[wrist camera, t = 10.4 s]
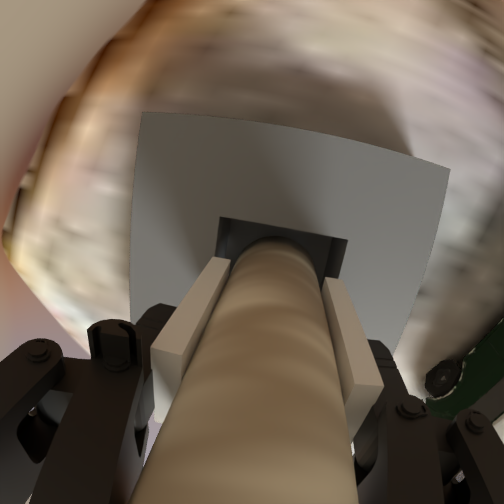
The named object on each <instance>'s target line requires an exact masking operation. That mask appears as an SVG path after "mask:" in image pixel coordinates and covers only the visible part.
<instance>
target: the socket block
mask: <svg viewBox="0 0 504 504" xmlns="http://www.w3.org/2000/svg"><path fill="white" fill-rule="evenodd" d="M449 174H450V169H448V168H446V167H443V166H440V165H437V164H434V163H431V162H428V161H425V160H422V159H419V158H416V157H413V156H409V155H406V154H403V153H399V152H396V151H393V150H389V149H386V148H382V147H378V146H375V145H371V144H367V143H363V142H359V141H355V140H351V139H347V138H342V137H338V136H333V135H329V134H324V133H319V132H315V131H309V130H304V129H299V128H293V127H288V126H282V125H276V124H269V123H263V122H256V121H249V120H241V119H233V118H224V117H214V116H204V115H191V114H177V113H157V112H142V117H141V124H140V131H139V138H138V146H137V155H136V164H135V174H134V185H133V197H132V212H131V233H130V320H131V323H132V324H134V325H136V322H137V321H138V320H139V319H140V318H141V316H142V315H143V314H144V313H145V312H146V310H147V309H148V308H150V307H152V306H154V305H156V304H158V303H162V304H167V305H171V306H175V307H178V306H179V304H180V303H181V301H182V300H183V298H184V297H185V295H186V294H187V293H188V291H189V290H190V288H191V287H192V285H193V284H194V283H195V281H196V280H197V278H198V277H199V275H200V274H201V273H202V271H203V270H204V268H205V267H206V265H207V264H208V263H209V261H210V260H211V258H212V257H218V258H224V259H229V260H231V262H230V269H229V276H230V274H231V272H232V270H233V268H234V265H235V263H236V261H237V259H238V257H239V255H240V253H241V252H242V251H243V249H244V248H245V247H246V246H247V245H249V244H250V243H251V242H253V241H255V240H257V239H259V238H262V237H266V236H283V237H287V238H290V239H292V240H294V241H296V242H298V243H299V244H300V245H302V246H303V247H304V248H305V249H306V250H307V252H308V253H309V255H310V256H311V258H312V260H313V263H314V267H315V271H316V275H317V279H318V283H319V288H320V292H321V291H322V287H323V283H324V279H325V277H329V278H335V279H341V280H343V282H344V284H345V287H346V289H347V291H348V294H349V296H350V299H351V301H352V303H353V306H354V308H355V311H356V313H357V316H358V318H359V321H360V323H361V325H362V328H363V331H364V333H365V336H366V338H367V339H371V340H380V341H381V342H382V343H383V344H384V345H385V346H386V347H387V348H388V349H389V350H390V353H391V355H392V356H393V354H394V351H395V349H396V347H397V345H398V342H399V340H400V338H401V335H402V333H403V330H404V328H405V325H406V323H407V320H408V318H409V315H410V313H411V310H412V307H413V305H414V302H415V299H416V296H417V294H418V291H419V288H420V285H421V282H422V279H423V276H424V273H425V270H426V267H427V263H428V260H429V257H430V254H431V250H432V247H433V243H434V240H435V236H436V232H437V228H438V224H439V220H440V216H441V212H442V208H443V203H444V199H445V194H446V189H447V184H448V179H449ZM228 278H229V277H228Z"/></svg>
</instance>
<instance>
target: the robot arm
mask: <svg viewBox="0 0 504 504" xmlns="http://www.w3.org/2000/svg"><path fill="white" fill-rule="evenodd" d="M230 262H231V260H229V259H224V258H218V257H212V258H211V260H210V261H209V263H208V264H207V265H206V267H205V268H204V270H203V271H202V273H201V274H200V275H199V277H198V278H197V280H196V281H195V283H194V284H193V285H192V287H191V288H190V290H189V291H188V293H187V294H186V295H185V297H184V298H183V300H182V301H181V303H180V304H179V306H178V307H175V306H171V305H167V304H162V303H158V304H156V305H154V306H152V307H150V308H148V309H147V310H146V312H145V313H144V314H143V315H142V316H141V318H140V319H139V320H138V321H137V322H136V325H134V324H132V323H131V322H128V321H124V320H120V319H108V320H102V321H99V322H97V323H94V324H92V325H91V326H90V327H89V328H88V329H87V334H88V341H89V347H90V353H91V359H77V358H69V357H63V353H62V350H61V348H60V346H59V345H58V344H57V343H56V342H54V341H52V340H49V339H41V338H39V339H38V338H37V339H33V340H29V341H27V342H25V343H24V344H22V345H21V346H19V347H18V348H17V349H16V350H14V351H13V352H12V353H11V354H10V355H8V356H7V357H6V358H5V359H3V360H2V361H1V362H0V504H25V502H26V501H27V500H28V498H29V497H30V495H31V494H32V496H31V499H30V502H29V504H128V501H129V499H130V497H131V494H132V492H133V490H134V488H135V485H136V483H137V481H138V478H139V476H140V474H141V471H142V469H143V464H144V457H145V451H146V445H147V440H148V434H149V428H148V420H149V418H150V416H151V414H152V412H153V410H154V420H155V421H156V422H159V423H162V424H163V422H164V419H165V417H166V415H167V413H168V410H169V408H170V406H171V404H172V401H173V399H174V397H175V395H176V393H177V390H178V388H179V386H180V384H181V381H182V379H183V377H184V375H185V373H186V370H187V368H188V366H189V364H190V361H191V359H192V357H193V355H194V353H195V350H196V348H197V346H198V344H199V342H200V339H201V337H202V335H203V333H204V331H205V328H206V326H207V324H208V322H209V320H210V318H211V315H212V313H213V311H214V309H215V307H216V304H217V302H218V300H219V298H220V296H221V294H222V291H223V289H224V287H225V285H226V283H227V281H228V277H229V269H230ZM321 296H322V300H323V305H324V309H325V313H326V318H327V322H328V327H329V332H330V336H331V341H332V346H333V350H334V355H335V360H336V365H337V370H338V375H339V380H340V386H341V391H342V396H343V402H344V408H345V413H346V419H347V425H348V431H349V437H350V444H351V443H352V442H353V443H354V450H355V453H354V455H353V456H352V457H353V464H354V471H355V478H356V486H357V494H358V502H359V504H504V444H503V442H502V440H501V438H500V437H499V435H498V433H497V432H496V430H495V428H494V427H493V425H492V423H491V422H490V420H489V419H488V418H487V417H486V416H485V415H484V414H482V413H481V412H479V411H476V410H474V409H464V410H461V411H460V412H459V413H458V414H457V415H456V417H455V418H454V420H453V421H452V420H447V419H443V418H439V417H434V416H432V415H431V412H430V410H429V407H428V406H427V405H426V404H425V403H424V402H423V401H422V400H421V399H419V398H417V397H416V396H413V395H409V393H408V391H407V389H406V386H405V384H404V382H403V379H402V377H401V375H400V373H399V370H398V369H397V366H396V364H395V361H393V357H392V355H391V353H390V350H389V349H388V348H387V347H386V346H385V345H384V344H383V343H382V342H381V341H380V340H371V339H367V338H366V336H365V333H364V331H363V328H362V325H361V323H360V321H359V318H358V316H357V313H356V311H355V308H354V306H353V303H352V301H351V299H350V296H349V294H348V291H347V289H346V287H345V284H344V282H343V280H341V279H335V278H329V277H325V279H324V283H323V287H322V291H321ZM33 407H34V409H33V410H32V411H31V409H32V408H33ZM461 471H463V474H464V476H465V478H464V479H463V480H462V481H461V482H460V483H459V482H457V480H456V478H455V477H456V476H457V475H458V474H459V473H460V472H461ZM32 492H33V493H32Z"/></svg>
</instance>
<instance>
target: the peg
mask: <svg viewBox="0 0 504 504" xmlns="http://www.w3.org/2000/svg"><path fill="white" fill-rule="evenodd" d="M128 504H359V502H358V494H357V486H356V478H355V471H354V464H353V457H352V450H351V444H350V437H349V431H348V425H347V419H346V413H345V408H344V402H343V396H342V391H341V386H340V380H339V375H338V370H337V365H336V360H335V355H334V350H333V346H332V341H331V336H330V332H329V327H328V322H327V318H326V313H325V309H324V305H323V300H322V296H321V292H320V288H319V283H318V279H317V275H316V271H315V267H314V263H313V260H312V258H311V256H310V255H309V253H308V252H307V250H306V249H305V248H304V247H303V246H302V245H300V244H299V243H298V242H296V241H294V240H292V239H290V238H287V237H283V236H266V237H262V238H259V239H257V240H255V241H253V242H251V243H250V244H249V245H247V246H246V247H245V248H244V249H243V251H242V252H241V253H240V255H239V257H238V259H237V261H236V263H235V265H234V268H233V270H232V272H231V274H230V276H229V278H228V281H227V283H226V285H225V287H224V289H223V291H222V294H221V296H220V298H219V300H218V302H217V304H216V307H215V309H214V311H213V313H212V315H211V318H210V320H209V322H208V324H207V326H206V328H205V331H204V333H203V335H202V337H201V339H200V342H199V344H198V346H197V348H196V350H195V353H194V355H193V357H192V359H191V361H190V364H189V366H188V368H187V370H186V373H185V375H184V377H183V379H182V381H181V384H180V386H179V388H178V390H177V393H176V395H175V397H174V399H173V401H172V404H171V406H170V408H169V410H168V413H167V415H166V417H165V419H164V422H163V424H162V426H161V428H160V431H159V433H158V435H157V437H156V440H155V442H154V444H153V446H152V449H151V451H150V453H149V456H148V458H147V460H146V463H145V465H144V467H143V469H142V471H141V474H140V476H139V478H138V481H137V483H136V485H135V488H134V490H133V492H132V494H131V497H130V499H129V501H128Z"/></svg>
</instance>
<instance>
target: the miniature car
mask: <svg viewBox="0 0 504 504" xmlns="http://www.w3.org/2000/svg"><path fill="white" fill-rule="evenodd" d="M443 376H445V377H443ZM445 379H446V380H445ZM425 388H426V389H427V391H428V392H429V393H430V394H431V395H432V396H433V397H434V398H430V397H428V398H426V405H427V406H428V407H429V410H430V412H431V415H432V416H434V417H439V418H443V419H447V420H452V421H453V420H454V418H455V417H456V415H457V414H458V413H459V412H460V411H461V410H464V409H474V410H476V411H479V412H481V413H482V414H484V415H485V416H486V417H487V418H488V419H489V420H490V422H491V423H492V425H493V427H494V428H495V430H496V432H497V433H498V435H499V437H500V438H501V440H502V442H503V444H504V318H503V319H502V320H501V321H500V322H499V323H498V324H497V325H496V326H495V328H494V329H493V330H492V331H491V332H490V333H489V334H488V335H487V336H486V337H485V338H484V339H483V340H482V341H481V342H480V343H479V344H478V345H477V346H476V347H475V348H474V349H473V350H472V351H471V352H469V353H468V354H467V355H466V356H465V357H464V358H463V364H462V371H461V370H460V368H459V367H458V365H457V364H456V363H455V362H454V360H453V359H451V360H446V361H441V362H440V363H439V364H437V365H436V366H435V367H434V368H433V369H432V370H430V371H429V372H428V373H427V375H426V383H425ZM422 401H423V399H422Z"/></svg>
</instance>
